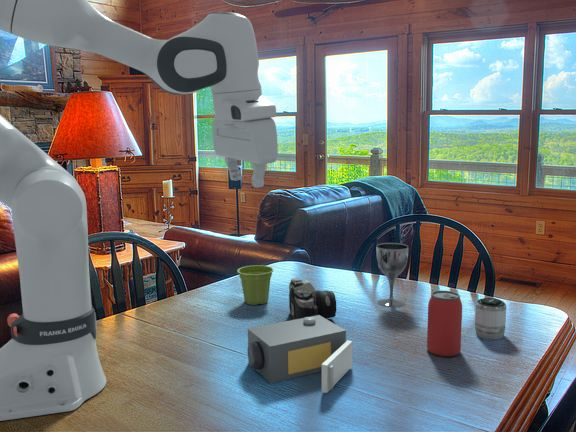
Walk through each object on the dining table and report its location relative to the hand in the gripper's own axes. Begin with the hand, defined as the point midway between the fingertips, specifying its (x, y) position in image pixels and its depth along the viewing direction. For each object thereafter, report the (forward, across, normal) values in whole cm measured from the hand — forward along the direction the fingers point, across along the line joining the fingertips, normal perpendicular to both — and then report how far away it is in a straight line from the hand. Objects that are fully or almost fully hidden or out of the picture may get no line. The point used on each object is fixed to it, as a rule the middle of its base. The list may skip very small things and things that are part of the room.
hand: (246, 183), depth 105 cm
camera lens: (+40, +16, +47) cm, 64 cm away
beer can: (+38, +17, +32) cm, 53 cm away
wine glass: (+41, -13, +43) cm, 61 cm away
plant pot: (+38, -32, +13) cm, 52 cm away
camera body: (+36, +7, +3) cm, 36 cm away
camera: (+38, -12, +18) cm, 44 cm away
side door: (+35, +17, +6) cm, 39 cm away
